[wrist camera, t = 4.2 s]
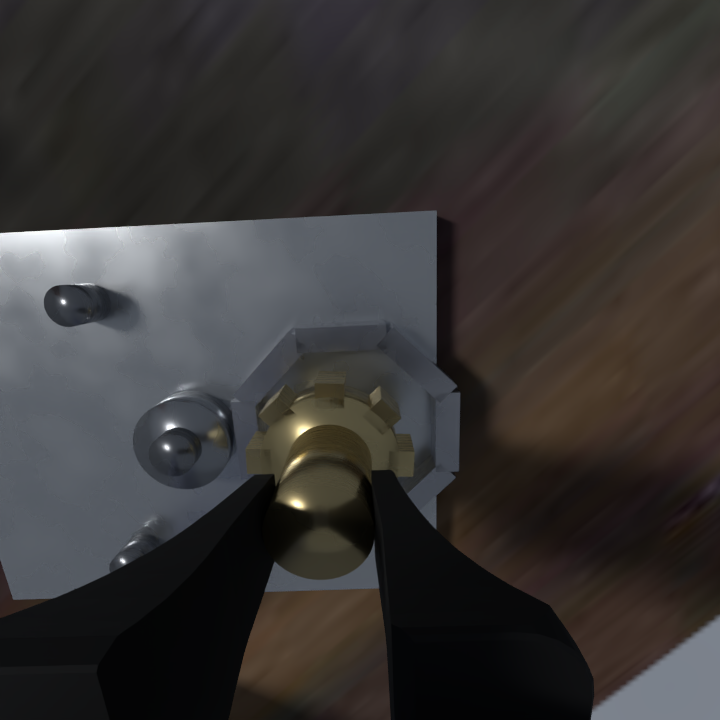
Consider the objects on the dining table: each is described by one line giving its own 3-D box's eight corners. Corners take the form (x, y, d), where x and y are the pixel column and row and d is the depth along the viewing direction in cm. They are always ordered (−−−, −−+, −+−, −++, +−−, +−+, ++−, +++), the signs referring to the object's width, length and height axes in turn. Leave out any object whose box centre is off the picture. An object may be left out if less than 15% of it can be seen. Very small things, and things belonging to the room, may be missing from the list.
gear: (405, 510, 16) (424, 624, 11) (261, 508, 16) (215, 620, 11) (413, 372, 14) (438, 433, 9) (252, 369, 14) (194, 429, 9)
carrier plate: (446, 570, 20) (462, 627, 17) (29, 583, 21) (-31, 641, 18) (449, 212, 16) (471, 199, 13) (-78, 240, 16) (-185, 234, 13)
